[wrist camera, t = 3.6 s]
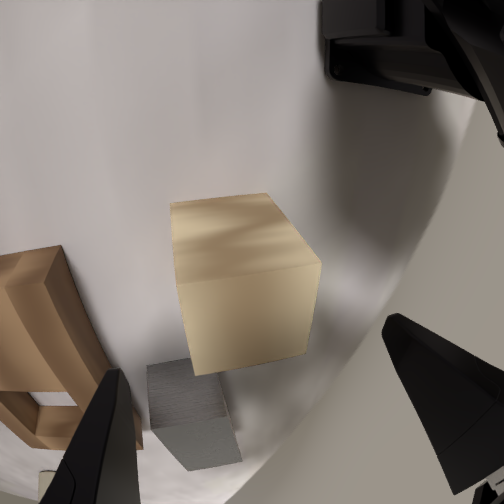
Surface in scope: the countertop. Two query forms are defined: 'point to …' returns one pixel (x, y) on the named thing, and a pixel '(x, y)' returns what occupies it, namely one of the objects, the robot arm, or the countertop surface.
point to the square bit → (242, 282)
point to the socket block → (46, 349)
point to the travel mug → (44, 482)
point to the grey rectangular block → (191, 415)
